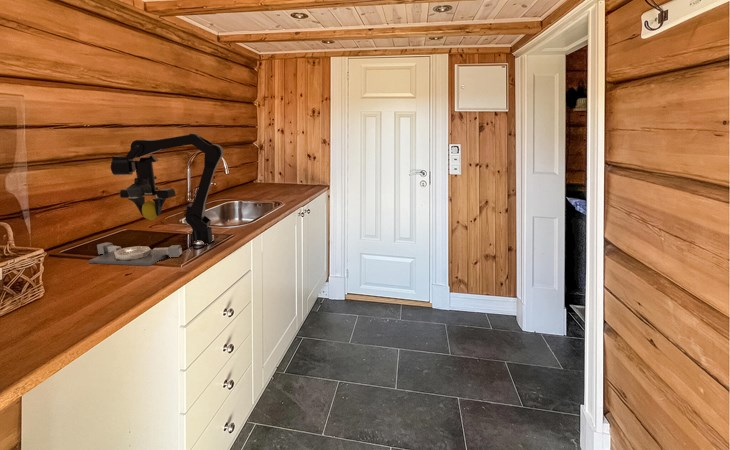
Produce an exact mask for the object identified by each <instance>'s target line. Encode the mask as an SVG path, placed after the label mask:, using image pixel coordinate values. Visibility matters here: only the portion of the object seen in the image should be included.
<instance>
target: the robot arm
mask: <svg viewBox="0 0 730 450" xmlns="http://www.w3.org/2000/svg"><path fill="white" fill-rule="evenodd" d="M190 145H192V146H194V147H195V148H197V149H198V150H199V151H200V152H202V153H203V154H204V157H203V159H204V160H203V161H204V163H203V164H204V167H203V170H202V173H201V177H200V181H199V183H198V188H197V191H196V195H195V197H194V200H193V202H190V203H189V204H188V205H187V206H186V211H185V214H183V216H184V217H185V222H186V224H187V225H189V226H190V228H191V229H192V232H191V238H192V243H191V246H194V245H193V243H194V241H197V240H202V241H203V242H204V243H210V242H211V241H212V240H214V242H216V241H215V239H213V232H212V231H213V230H212V227H210V226H211V224H212V220H211V219H210V217H207V216H206V201H207V198H208V197H209V192H210V188H211V185H212V182H213V178H214V175H215V171H216V169H217V167H218V166H219V164H220V162H221V160H222V159H223V157H224V155H225V151H224V148H223V146H221V145H220V144H217V143H212V141H209V140H208V139H206V138H204V137H202V136H200V135H199V134H198V133H196V132H195V133H189V134H186V135H185V134H184V135H179V136H174V137H173V136H172V137H167V138H162V139H136V140H133V141H132V143H130V150H129V151H128V152H127V154H126V156H118V155H114V156H112V157H111V162H110V171H111V173H112V175H113V176H132V175H133V173H135V174H136V177H134V180H133V181H134V182H133V183H131V185H129V186H128V187H127V188H125V189H121V190H120V192H119V198H120V199H126V198H127V200H128V201H131V202H133V203H134V205H135V206H136V207H137V209H138V211H139V213H140V215H141V217H144V216H143V214H142V206H143V204H144V203H145V202H146V199H145V196H150V197H151V196H152V197H154V196H155V197H154V198H152V202H154V203H155V208H156V214H157V217H159V216H160V215H161V212H162V209H163V206H164V203H165V202H166V200H167V199H170V198H173V197H176V191H175V189H174V188H162V189H159V188H158V186H156V181H155V180H157V176H156V175H155V173H154V172H155V171H154V165H153V163H157V162H159V159H158V158H156V157H155V156H154V155H153V154H154V153H157V152H159V151H162V150H166V149H167V150H168V149H171V148H179V147H183V146H190ZM151 154H152V155H151ZM149 155H150V156H149ZM145 156H147V157H145ZM137 159H139V160H137ZM206 246H208V245H207V244H206Z"/></svg>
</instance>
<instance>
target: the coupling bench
mask: <svg viewBox="0 0 730 450" xmlns="http://www.w3.org/2000/svg"><path fill="white" fill-rule="evenodd" d="M181 245H182V244H177V245H176V244H174V245H170V246H168V247H154V248H153V249H151V248H150V247H149V246H148V245H147V246H141V245H136V246H129V247H128V246H127V247H123V248H122V246H119V245H118V246H117V245H114V244H113V243H112V242H103V243H98V244H96V248H97V254H98V256H96V257H93V258H91V259H89V260H88V263H89V264H98V265H99V264H100V265H118V266H119V265H122V266H147V267H150V266H152V265H154V264H156V263H158V262H160V261H162V260H164V259H166V258H167V256H168V258H169V257H170V258H169V259H172V258H171V257H179V256H180V255H181V254H182V255H183V250H182V249H183V248H182V246H181ZM100 254H103V255H100ZM182 255H181V256H182ZM181 256H180V257H181ZM180 257H179V258H180ZM161 259H162V260H161ZM159 260H160V261H159ZM157 261H158V262H157ZM155 262H156V263H155Z"/></svg>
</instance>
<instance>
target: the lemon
mask: <svg viewBox="0 0 730 450" xmlns="http://www.w3.org/2000/svg"><path fill="white" fill-rule="evenodd" d="M142 214H143V216H142V217H143V218H145V219H147V220H149V221H150V222H153V221H154V220H155V219H157V218H158V216H157V214H156V208H155V202H154V201H153V200H152V201H151V200H150V199H149V200H147V201H145V203H144V204H143V206H142Z"/></svg>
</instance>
